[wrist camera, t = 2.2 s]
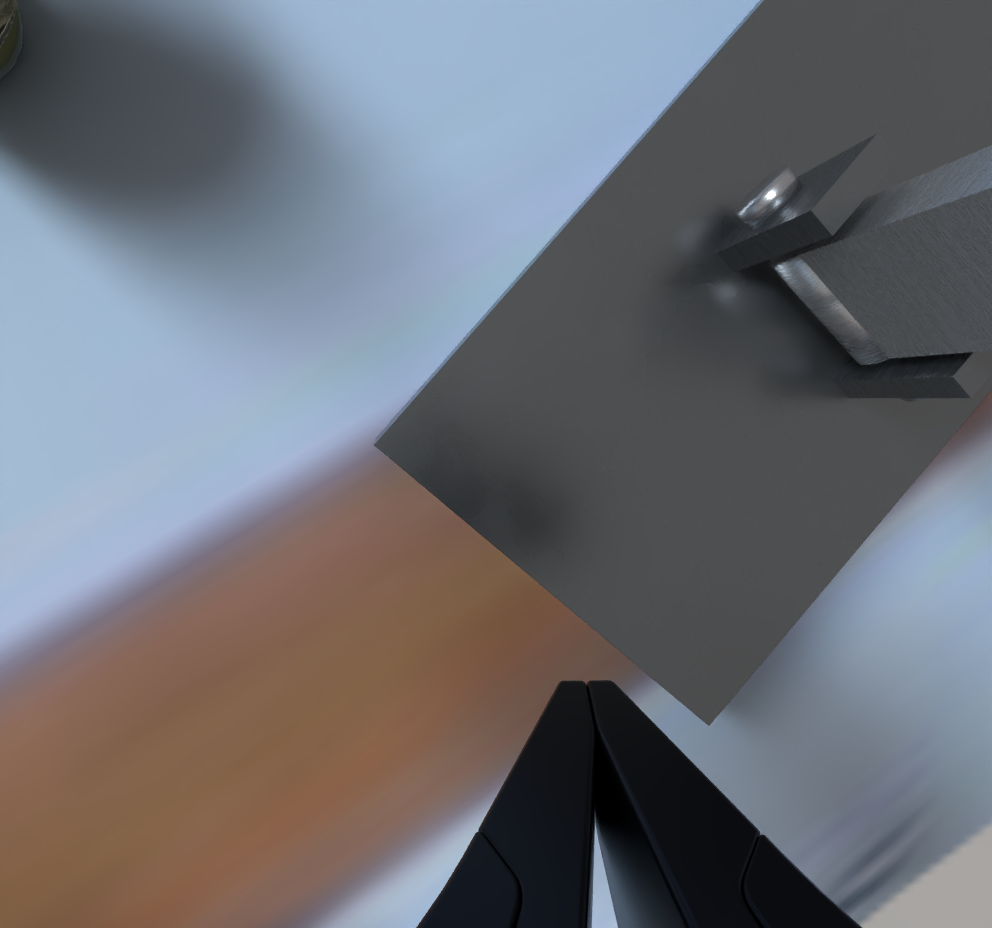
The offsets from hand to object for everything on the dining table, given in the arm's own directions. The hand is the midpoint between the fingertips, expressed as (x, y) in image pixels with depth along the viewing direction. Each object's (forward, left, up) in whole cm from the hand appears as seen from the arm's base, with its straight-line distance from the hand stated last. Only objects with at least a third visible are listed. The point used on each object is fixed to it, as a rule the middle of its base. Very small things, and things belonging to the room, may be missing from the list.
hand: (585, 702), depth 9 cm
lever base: (+10, -8, -11) cm, 17 cm away
